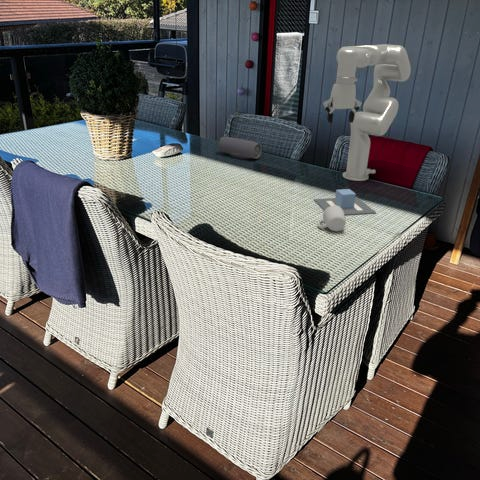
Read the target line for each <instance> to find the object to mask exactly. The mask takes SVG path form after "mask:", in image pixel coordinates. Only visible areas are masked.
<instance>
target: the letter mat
mask: <svg viewBox="0 0 480 480" xmlns="http://www.w3.org/2000/svg"><path fill="white" fill-rule="evenodd" d="M313 201H314V203H316V204H317V205H318V206H319V207H320V208H321V210H323V212H324V211H325V209H327V208H328V207H330V206H337V205H336V204H335V197H330V198H314V199H313ZM342 209H343V211H344V215H345V217H346V216H357V215H358V216H359V215H360V216H361V215H372V214H373V215H375V214H377V212H376V211H375V210H374V209H373V208H372V207H370V206H369V205H367V204H366V202H364V201H363V200H362V199H360V198H359V197H358V196H356V197H355V204H354V208H342Z"/></svg>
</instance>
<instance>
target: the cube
mask: <svg viewBox="0 0 480 480" xmlns="http://www.w3.org/2000/svg"><path fill="white" fill-rule="evenodd" d="M355 197H357V194H356V193H355V192H354V191H353V190H351V189H350V188H346V189H345V188H343V189H336V190H335V197H334V198H335V204H336V205H337V206H339V207H341V208H354V204H355Z"/></svg>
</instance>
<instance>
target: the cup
mask: <svg viewBox="0 0 480 480" xmlns="http://www.w3.org/2000/svg"><path fill="white" fill-rule="evenodd" d="M346 221H347V219H346V216H345V215H344V211H343V209H342V208H341V207H339V206H330V207H328V208H327V209H325V211H324V210H323V213H322V219H320V220H319V221H318V222H317V228H319V229H321V230H323V229H326V228H328V229H329V230H330V231H333V232H340V231H342V230H343V229H344V228H345V227H346V224H347V223H346ZM322 224H323V225H322Z"/></svg>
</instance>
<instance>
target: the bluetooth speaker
mask: <svg viewBox="0 0 480 480" xmlns="http://www.w3.org/2000/svg"><path fill="white" fill-rule="evenodd" d="M217 147H218V150H219V152H222V153H224V154H228V155H230V156H231V157H234V158H238V159H243V160H248V159H259V158H260V157H261V154H262V149H263V148H262V143H260V142H256V141H252V140H248V139H244V138H238V137H232V136H222V137H220V138H219V142H218V146H217Z"/></svg>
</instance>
